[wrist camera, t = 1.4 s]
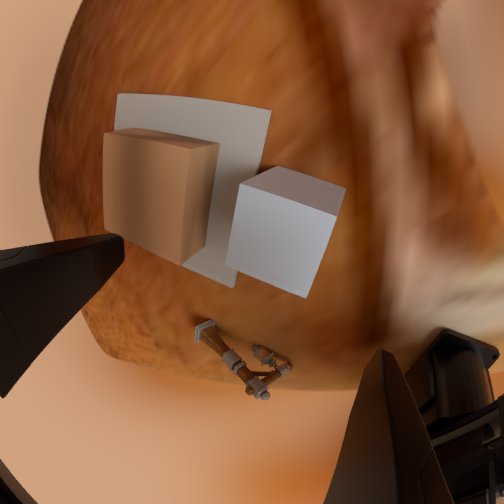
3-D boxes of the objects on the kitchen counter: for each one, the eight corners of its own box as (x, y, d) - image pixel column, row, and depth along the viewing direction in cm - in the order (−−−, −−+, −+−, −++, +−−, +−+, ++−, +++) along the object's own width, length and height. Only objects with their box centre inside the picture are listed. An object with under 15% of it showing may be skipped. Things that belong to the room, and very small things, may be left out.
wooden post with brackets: (296, 379, 21) (257, 410, 18) (233, 321, 25) (192, 341, 22) (304, 367, 20) (263, 399, 17) (236, 307, 24) (193, 327, 21)
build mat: (271, 110, 14) (269, 110, 13) (234, 285, 20) (232, 288, 19) (121, 93, 16) (117, 93, 16) (116, 231, 23) (113, 232, 22)
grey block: (346, 188, 14) (336, 216, 10) (324, 250, 16) (306, 298, 12) (277, 165, 15) (239, 183, 11) (262, 227, 17) (225, 265, 13)
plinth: (220, 143, 15) (190, 149, 13) (205, 245, 19) (179, 266, 16) (136, 127, 17) (103, 132, 14) (132, 215, 20) (104, 229, 18)
